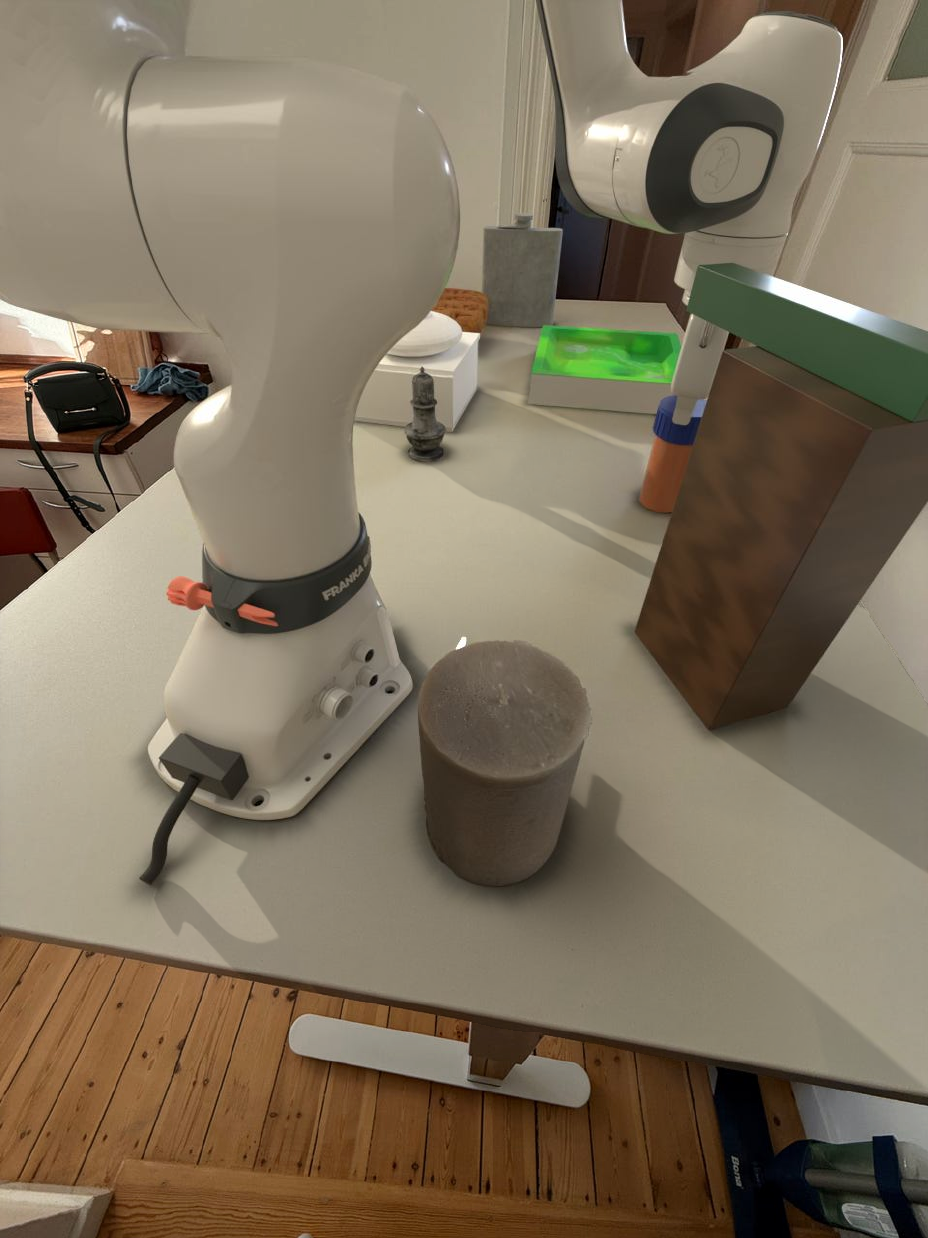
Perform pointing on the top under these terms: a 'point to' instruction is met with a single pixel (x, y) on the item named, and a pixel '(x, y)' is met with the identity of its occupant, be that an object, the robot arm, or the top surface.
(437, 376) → the butter dish
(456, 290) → the clay tablet
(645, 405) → the tray
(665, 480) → the jar
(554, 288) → the hip flask
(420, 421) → the salt shaker
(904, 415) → the rod
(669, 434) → the jar lid
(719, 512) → the stand
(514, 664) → the pillar candle
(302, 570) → the robot arm
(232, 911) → the top surface
